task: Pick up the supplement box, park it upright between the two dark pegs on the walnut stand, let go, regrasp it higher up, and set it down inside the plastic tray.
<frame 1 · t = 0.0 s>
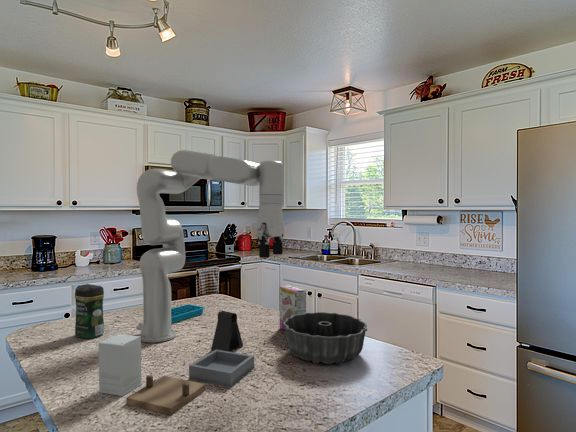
hand: (271, 255, 120), 31 cm above the worktop, tool pointing down, fingers open, 9 cm apart
peg stand: (167, 396, 94), on the worktop
supplement box: (120, 389, 98), on the worktop
bundt pan: (324, 354, 122), on the worktop
phone stand: (227, 349, 127), on the worktop
ice cube tray: (179, 317, 165), on the worktop
coffee jar: (89, 336, 140), on the worktop
tray: (222, 372, 108), on the worktop
candy bar box: (292, 331, 145), on the worktop
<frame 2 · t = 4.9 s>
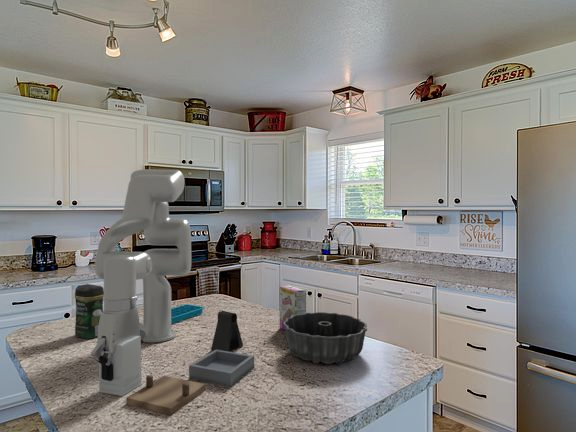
hand: (120, 372, 98), 4 cm above the worktop, tool pointing down, fingers closed on supplement box, 7 cm apart
supplement box: (120, 389, 98), on the worktop, touching gripper
everything else where it was.
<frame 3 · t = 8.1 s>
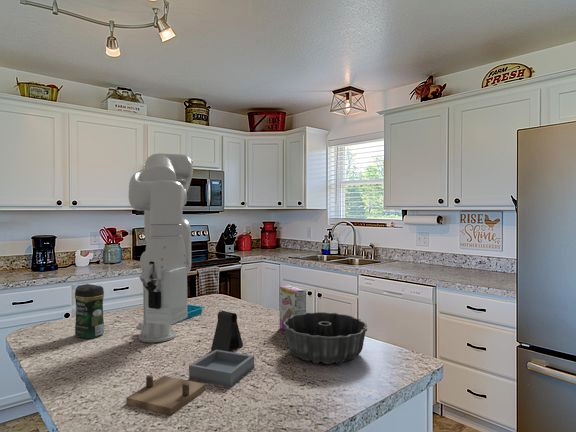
hand: (166, 303, 94), 23 cm above the worktop, tool pointing down, fingers closed on supplement box, 7 cm apart
supplement box: (166, 320, 94), point 18 cm above the worktop, touching gripper
everything else where it was.
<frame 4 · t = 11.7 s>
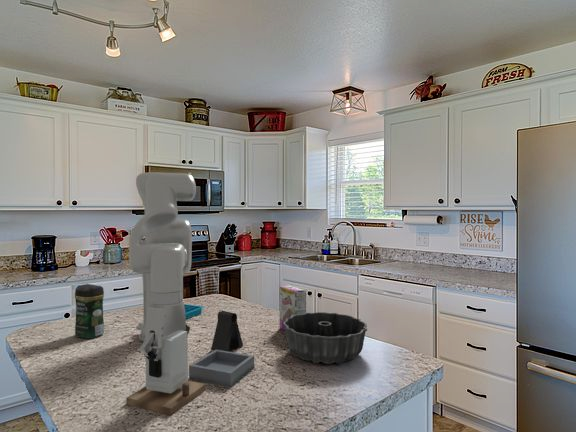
hand: (167, 369, 94), 7 cm above the worktop, tool pointing down, fingers closed on supplement box, 7 cm apart
supplement box: (167, 386, 94), point 2 cm above the worktop, touching gripper
everything else where it was.
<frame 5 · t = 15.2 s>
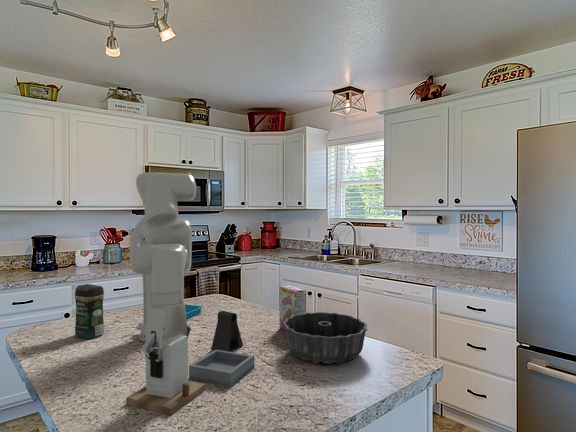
hand: (168, 369, 94), 7 cm above the worktop, tool pointing down, fingers closed on supplement box, 7 cm apart
supplement box: (167, 390, 94), point 1 cm above the worktop, touching gripper, peg stand
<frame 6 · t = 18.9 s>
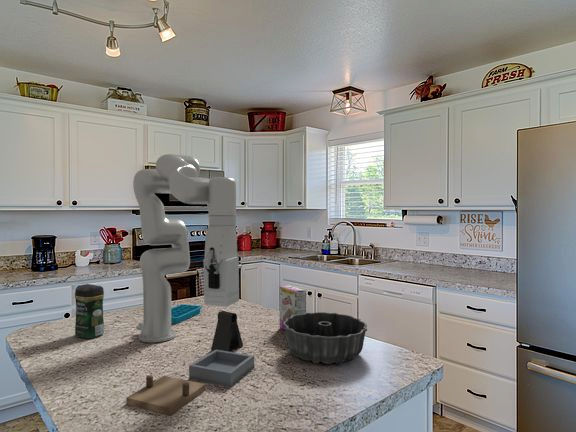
hand: (222, 285, 107), 25 cm above the worktop, tool pointing down, fingers closed on supplement box, 7 cm apart
supplement box: (221, 303, 107), point 19 cm above the worktop, touching gripper
when the fingers open (7 cm above the worktop, at t = 22.7 s): supplement box drops 1 cm, resting on tray.
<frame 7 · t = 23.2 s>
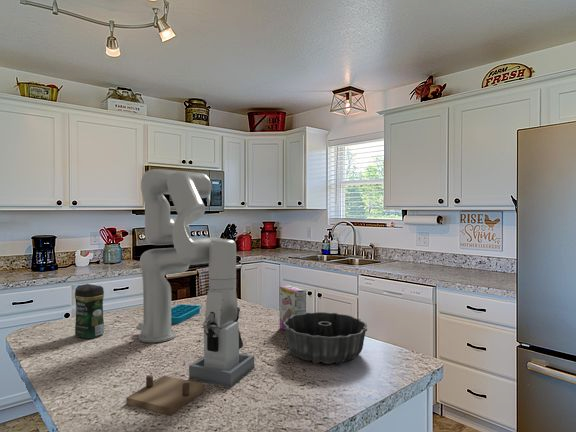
hand: (222, 345, 107), 8 cm above the worktop, tool pointing down, fingers open, 9 cm apart
supplement box: (221, 369, 108), point 1 cm above the worktop, touching tray
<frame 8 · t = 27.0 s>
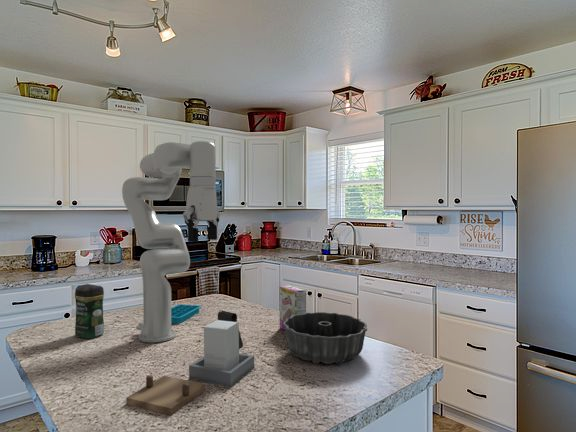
hand: (203, 240, 116), 36 cm above the worktop, tool pointing down, fingers open, 9 cm apart
at the end: supplement box 0.3 cm off-centre on the tray, point 0.8 cm above the tray's base; supplement box tilted 0°; the gripper is holding nothing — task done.
